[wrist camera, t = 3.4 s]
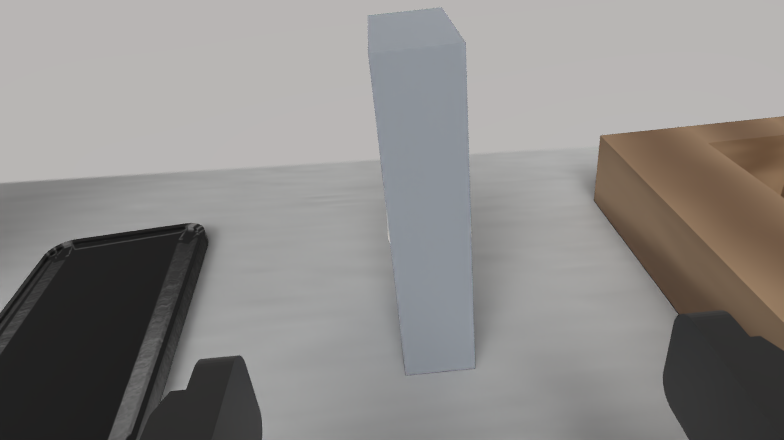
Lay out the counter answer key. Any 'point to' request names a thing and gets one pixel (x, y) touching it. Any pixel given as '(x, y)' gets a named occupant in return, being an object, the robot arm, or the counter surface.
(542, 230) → the counter surface
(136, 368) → the phone
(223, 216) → the counter surface
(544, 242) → the counter surface
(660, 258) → the rack
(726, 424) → the robot arm
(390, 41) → the domino
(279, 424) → the counter surface
